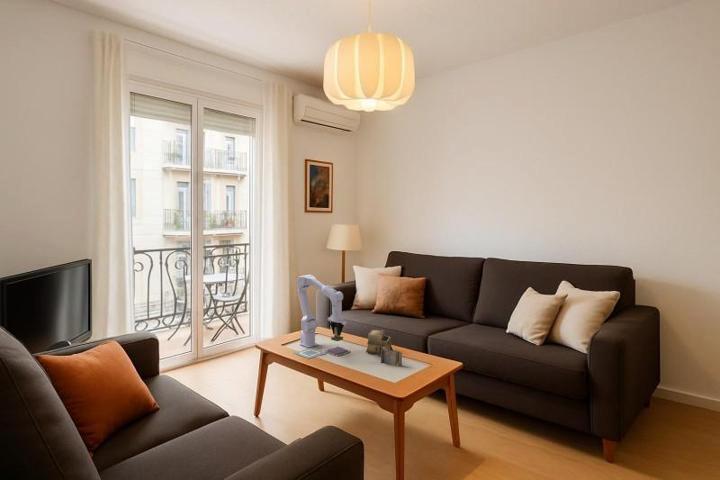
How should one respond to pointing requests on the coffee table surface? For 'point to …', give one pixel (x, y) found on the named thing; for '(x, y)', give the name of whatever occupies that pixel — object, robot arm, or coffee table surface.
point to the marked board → (309, 353)
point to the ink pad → (337, 351)
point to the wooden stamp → (336, 336)
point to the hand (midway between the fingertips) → (337, 334)
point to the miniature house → (378, 342)
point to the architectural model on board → (391, 357)
